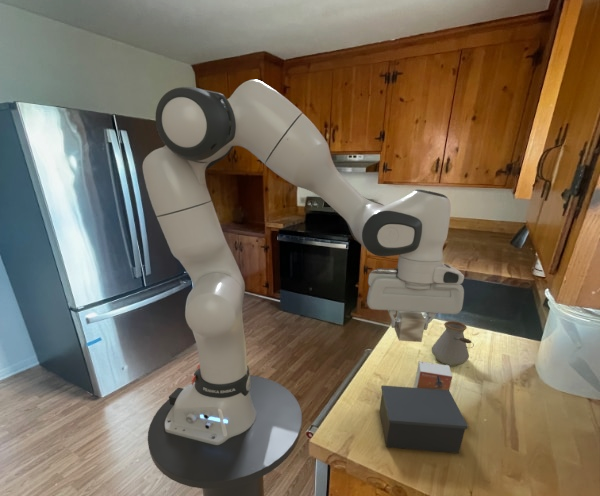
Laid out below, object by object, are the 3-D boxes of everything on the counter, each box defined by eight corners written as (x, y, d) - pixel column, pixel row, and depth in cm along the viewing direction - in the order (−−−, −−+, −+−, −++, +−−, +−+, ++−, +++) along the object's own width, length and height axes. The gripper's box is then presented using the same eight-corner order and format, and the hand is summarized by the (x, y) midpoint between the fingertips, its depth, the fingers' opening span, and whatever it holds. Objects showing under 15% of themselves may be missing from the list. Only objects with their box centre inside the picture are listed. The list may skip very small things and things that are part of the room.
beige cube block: (398, 340, 74) (402, 318, 72) (394, 328, 79) (397, 307, 77) (421, 342, 73) (425, 319, 71) (415, 330, 79) (419, 309, 77)
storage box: (384, 448, 74) (389, 420, 71) (378, 410, 86) (381, 385, 83) (460, 454, 73) (468, 426, 70) (443, 415, 85) (449, 390, 82)
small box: (413, 404, 89) (419, 371, 85) (412, 392, 94) (418, 360, 90) (445, 410, 87) (452, 376, 83) (442, 397, 92) (449, 364, 88)
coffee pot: (427, 349, 116) (434, 310, 111) (462, 353, 114) (471, 313, 109) (439, 384, 97) (448, 339, 91) (480, 389, 95) (493, 344, 89)
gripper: (370, 271, 68) (364, 331, 74) (472, 276, 67) (458, 337, 72) (368, 263, 74) (362, 319, 79) (461, 268, 73) (449, 324, 78)
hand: (408, 327), depth 76 cm, fingers closed on beige cube block, 5 cm apart
